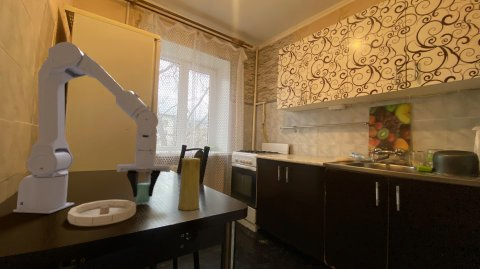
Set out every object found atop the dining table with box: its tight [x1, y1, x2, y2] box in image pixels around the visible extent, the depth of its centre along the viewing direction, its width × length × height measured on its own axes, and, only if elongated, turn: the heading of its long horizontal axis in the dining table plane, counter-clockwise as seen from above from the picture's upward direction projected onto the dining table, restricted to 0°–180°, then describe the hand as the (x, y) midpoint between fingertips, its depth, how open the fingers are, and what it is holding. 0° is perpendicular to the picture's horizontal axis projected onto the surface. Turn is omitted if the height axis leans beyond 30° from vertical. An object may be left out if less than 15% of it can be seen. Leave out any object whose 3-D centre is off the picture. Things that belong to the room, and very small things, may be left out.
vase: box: [177, 157, 201, 212], centre depth 62 cm, size 6×6×14 cm
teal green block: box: [135, 182, 150, 204], centre depth 63 cm, size 4×4×5 cm
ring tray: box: [67, 199, 137, 227], centre depth 53 cm, size 14×14×2 cm
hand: (143, 196), depth 63 cm, fingers closed on teal green block, 4 cm apart
